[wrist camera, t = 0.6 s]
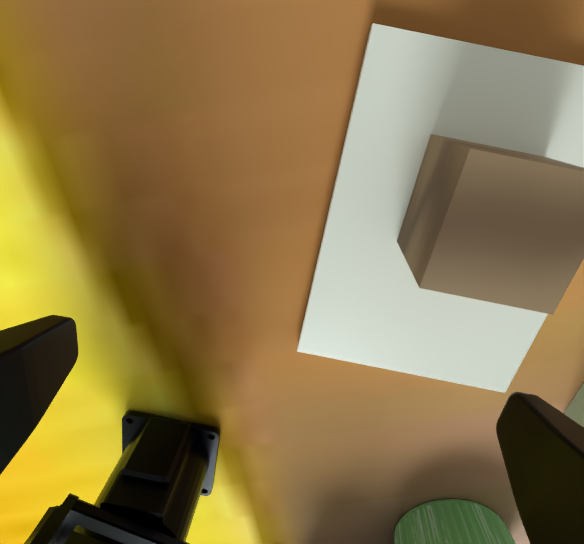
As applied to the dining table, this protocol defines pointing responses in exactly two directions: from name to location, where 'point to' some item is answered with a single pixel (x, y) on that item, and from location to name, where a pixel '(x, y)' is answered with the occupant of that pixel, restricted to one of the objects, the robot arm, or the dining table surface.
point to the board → (397, 192)
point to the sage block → (577, 407)
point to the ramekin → (451, 524)
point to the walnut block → (494, 224)
